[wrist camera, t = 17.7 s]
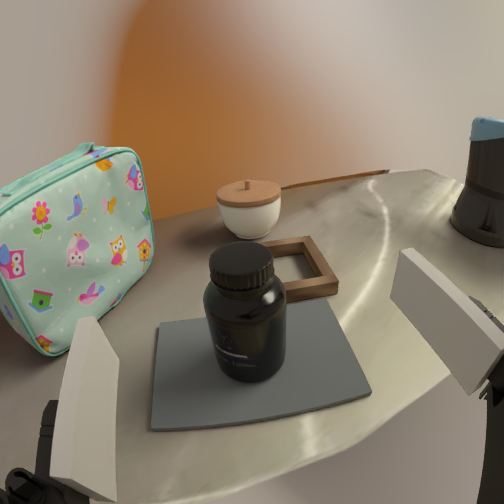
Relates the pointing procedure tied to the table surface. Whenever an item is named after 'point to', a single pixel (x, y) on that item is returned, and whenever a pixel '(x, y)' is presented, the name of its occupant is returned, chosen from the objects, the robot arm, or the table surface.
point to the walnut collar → (324, 278)
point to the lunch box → (72, 242)
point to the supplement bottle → (246, 312)
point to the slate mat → (260, 393)
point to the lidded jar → (249, 207)
